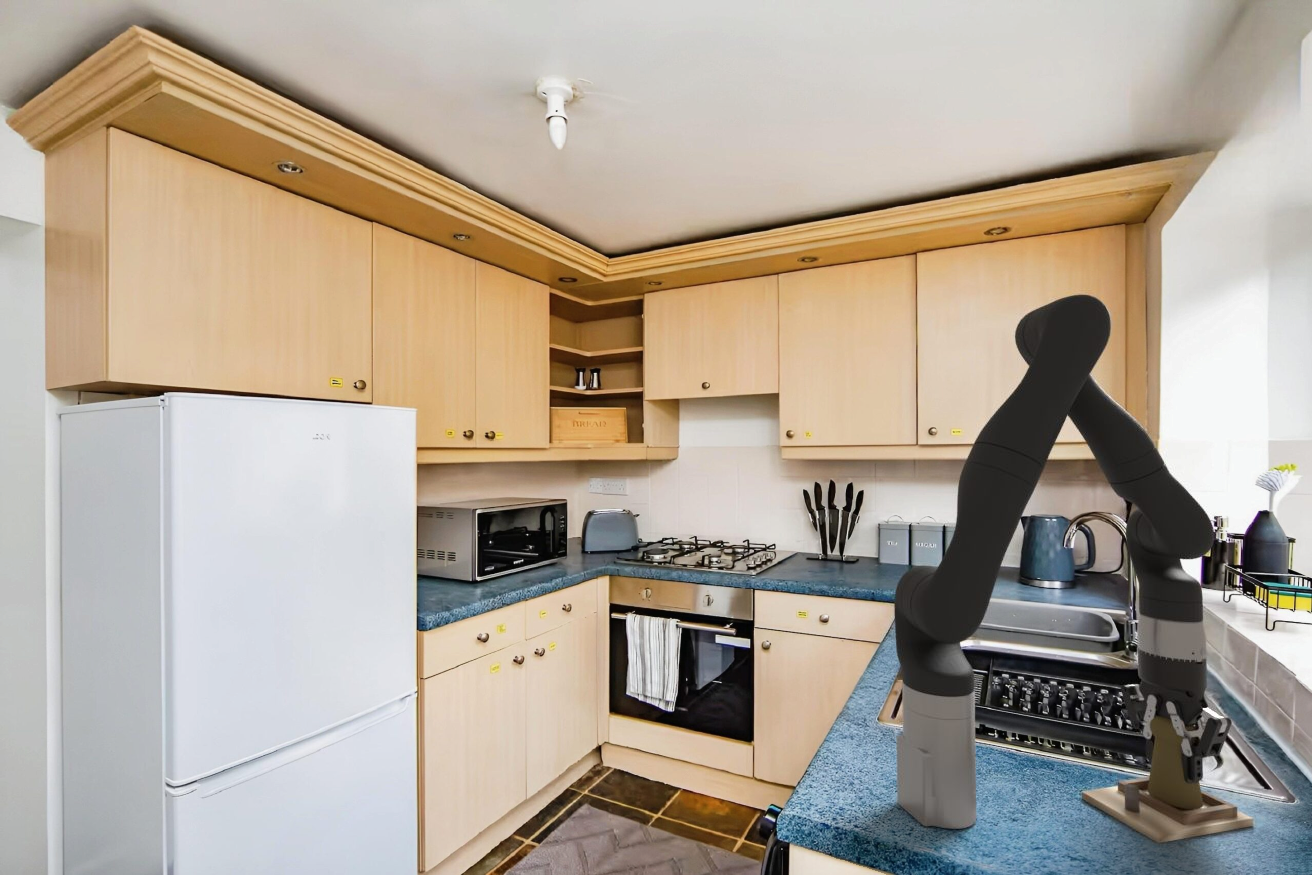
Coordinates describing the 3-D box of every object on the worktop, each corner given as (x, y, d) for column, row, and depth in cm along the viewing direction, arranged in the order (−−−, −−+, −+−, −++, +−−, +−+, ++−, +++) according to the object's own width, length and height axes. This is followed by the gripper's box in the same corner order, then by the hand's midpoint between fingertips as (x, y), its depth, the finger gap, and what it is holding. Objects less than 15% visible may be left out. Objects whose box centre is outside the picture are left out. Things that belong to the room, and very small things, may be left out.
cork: (1177, 785, 93) (1175, 708, 93) (1215, 808, 86) (1213, 725, 87) (1136, 786, 92) (1134, 708, 93) (1171, 809, 86) (1169, 726, 87)
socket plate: (1158, 842, 82) (1157, 810, 82) (1081, 798, 92) (1081, 769, 92) (1253, 825, 85) (1252, 794, 86) (1169, 784, 96) (1168, 757, 96)
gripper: (1103, 637, 96) (1105, 753, 95) (1204, 667, 82) (1207, 804, 82) (1142, 633, 98) (1145, 748, 97) (1248, 662, 84) (1252, 796, 83)
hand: (1173, 773), depth 89 cm, fingers closed on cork, 4 cm apart
